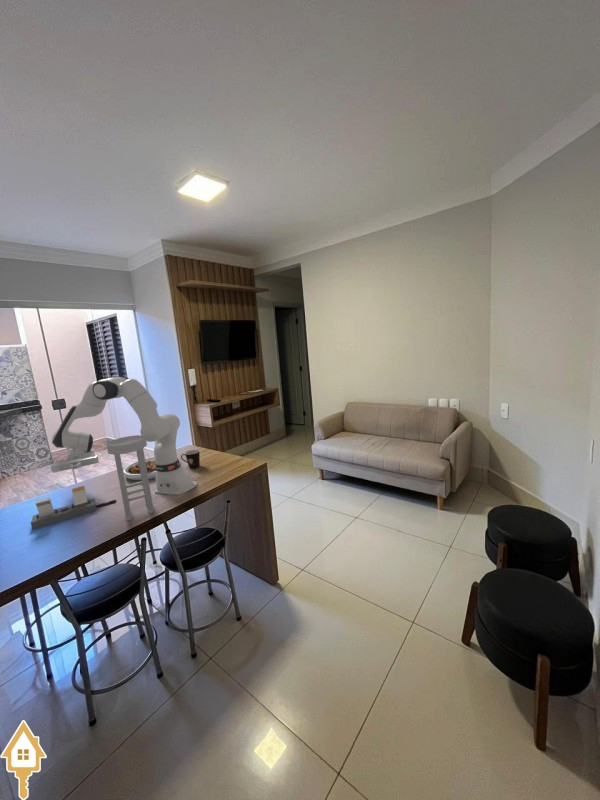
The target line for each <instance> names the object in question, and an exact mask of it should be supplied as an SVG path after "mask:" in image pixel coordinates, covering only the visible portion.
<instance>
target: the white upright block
mask: <svg viewBox="0 0 600 800" xmlns="http://www.w3.org/2000/svg"><path fill="white" fill-rule="evenodd" d="M85 486H86V485H81V486H80V485H79V486H77V487H74V488H71V492H72V498H73V499H72V500H73V504H75V505H78V504H82V503H85V502H87V500H88V497H87V491H86V487H85Z"/></svg>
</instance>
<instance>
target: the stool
mask: <svg viewBox="0 0 600 800" xmlns="http://www.w3.org/2000/svg"><path fill="white" fill-rule="evenodd" d="M147 442H148V441H146V438H145V436H141V434H139V435H138V434H135V435H128V436H123V437H118V438H115V439H112V440H110V441H108V442H107V443H106V449H107V454H109V455H113V456H114V461H115V467H116V472H117V477H118V482H119V486H120V487H119V488H120V492H121V497H122V498H121V500H122V503H123V508H124V514H125V518H126V521H131V520H132V519H133V517H132V511H131V510H132V509H131V506H130V502H133V501H136V500H139V499H143V498H144V502H145V506H146V507H147V512H148V514H152V513H154V512H155V509H154V505H153V498H152V492H151V488H150V487H151V486H150V479H148V474H147V468H146V462H145V459H146V458H145V457H146V456H145V452H144V448H147V446H148V443H147ZM133 452H134V453H135V452H136V456H137V461H138V463H139V469H140V474H141V480H140V481H138V482H137V481H136V482H134V483H130V484H126V479H125V475H124V468H123V463H122V458H121V455H125V454H129V453H133ZM140 485H142V487H138V488H134V487H137V486H140ZM132 487H133V488H134V489H131V490H128V489H129V488H132ZM140 492H143V493H142V494H139V495H136V496H132V497H129V496H131V495H134V494H138V493H140Z"/></svg>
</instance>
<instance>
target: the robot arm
mask: <svg viewBox="0 0 600 800" xmlns="http://www.w3.org/2000/svg"><path fill="white" fill-rule="evenodd" d="M82 396H83V397H82V399H81V401H80V402H78V404H74V405H73V406H72V407H70V409H69V410H68V412H67V413H66V415H65V416H64V419H63V420H62V422H61V424H60V425H59V427H58V429H56V431H55V432H54V434H53V436H52V438H51V444H52V445H54V447H55V448H61V449H69V450H68V452H67V454H66V458H65V459H64V460H58V461H55V462H53V463H52V464H51V465H50V470H51V473H59V472H62V471H63V472H65V471H67V470H77V469H80V468H82V467H86V466H91V465H95V464H98V463H99V456H98V454H97V453H95V451H94V450H92V448H93V444H94V437H93V435H92V434H91V433H89V432H83V431H82V432H80V431H76V430H75V431H74V430H70V427H71V426H72V423H73V422H74V421H76V420H77V419H82V418H92V417H96V416H98V415H100V414H101V413H102V412H103V411H104V409H105V408H106V404H107V402H108V400H109V401H110V400H113V399H119V398H122V397H123V398H124V399H125V400H126V402H127V403H128V405H130V407H131V409H132V410H133V411H134V412H135V414H136V416H137V418H138V420H139V421H140V430H139V431H140V436H145V438H146V442H149V443H152V442H156V443H155V445H154V447H153V455H154V456H153V457H155V462H156V463H155V468H156V471H157V474H156V478H155V486H156V487H155V490H154V493H155V494H161V495H163V494H164V495H172V496H173V495H175V496H179V495H182V494H185V493H186V492H188V491H190V490H192V489H194V488H195V487H197V485H198V482H196V481H194V480H192V475H191V474H190V472H189V471H187V470H186V469H184V467H182V462H181V461H180V459H179V458H178V454H177V453H178V452H177V435H178V434H177V433H178V430H179V428H180V426H181V422H180V418H179V417H178V416H177V415H176V414H172V413H171V414H169V413H167V414H163V415H161V416H160V414H159V412H158V409H157V408H158V403H157V402H156V400H155V399H154V397H153V396H152V395H151V394H150V392H149V391H148V390H147V389H146V387H145V386H144V385H143V383H141V382H140V381H138V380H137V379H135V378H129V377H126V376H118V377H109V378H104V379H99V380H98V381H93V382H91V383H89V385H88V386H87V388H86V389H85V391H84V393H83V395H82Z"/></svg>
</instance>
